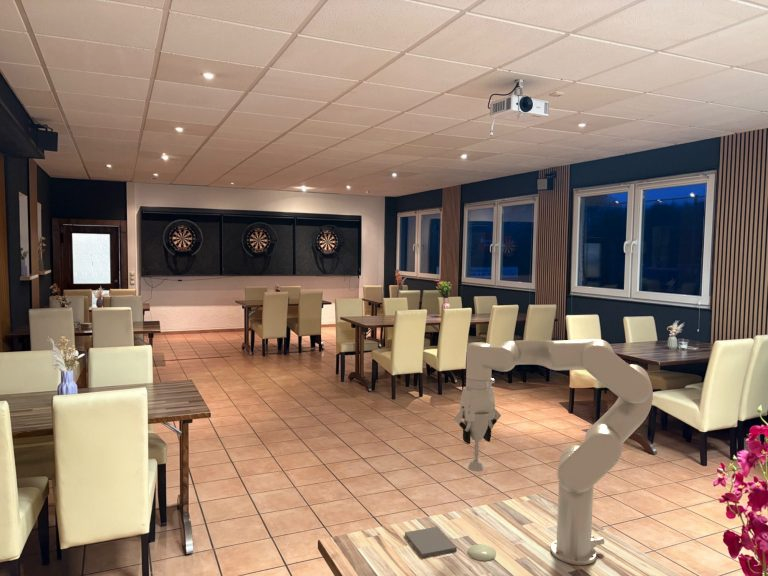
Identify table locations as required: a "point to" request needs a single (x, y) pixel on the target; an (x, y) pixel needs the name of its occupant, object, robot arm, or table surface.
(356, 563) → the table surface
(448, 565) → the table surface
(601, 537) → the robot arm
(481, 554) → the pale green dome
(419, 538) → the slate board
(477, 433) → the chalice
